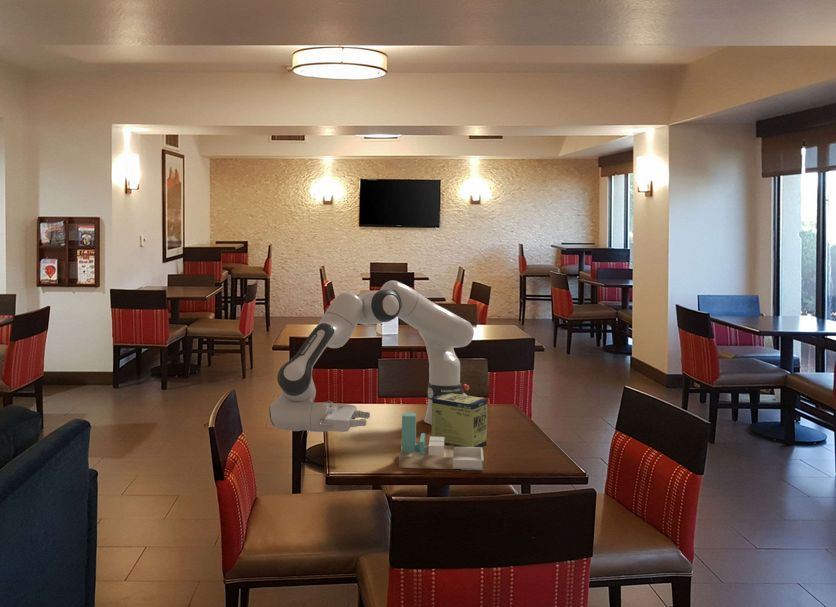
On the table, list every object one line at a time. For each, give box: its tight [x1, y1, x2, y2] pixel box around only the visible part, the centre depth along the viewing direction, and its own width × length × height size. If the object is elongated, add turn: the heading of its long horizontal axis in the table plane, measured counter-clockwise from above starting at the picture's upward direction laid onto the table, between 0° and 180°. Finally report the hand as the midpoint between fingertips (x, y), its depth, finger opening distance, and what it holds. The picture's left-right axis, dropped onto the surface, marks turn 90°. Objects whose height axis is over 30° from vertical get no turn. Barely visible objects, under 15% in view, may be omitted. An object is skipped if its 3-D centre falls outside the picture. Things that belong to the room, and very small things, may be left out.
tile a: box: [428, 436, 445, 443], centre depth 258 cm, size 4×4×3 cm
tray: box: [452, 446, 485, 471], centre depth 255 cm, size 9×14×3 cm, turn 177°
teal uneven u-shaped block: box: [401, 412, 426, 455], centre depth 255 cm, size 7×10×11 cm
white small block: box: [428, 442, 444, 456], centre depth 252 cm, size 4×4×3 cm
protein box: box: [430, 393, 488, 448], centre depth 274 cm, size 10×16×16 cm
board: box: [398, 444, 453, 470], centre depth 255 cm, size 16×13×4 cm
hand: (368, 418), depth 255 cm, fingers open, 8 cm apart
